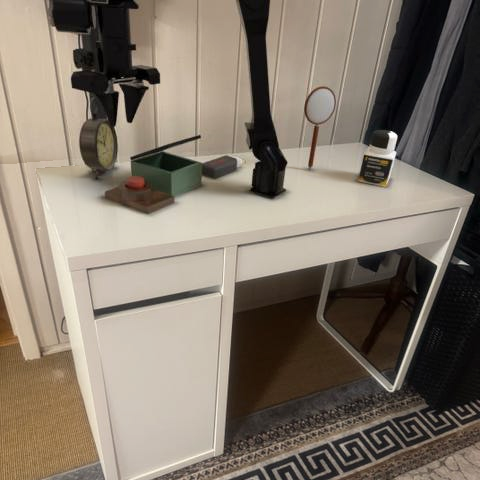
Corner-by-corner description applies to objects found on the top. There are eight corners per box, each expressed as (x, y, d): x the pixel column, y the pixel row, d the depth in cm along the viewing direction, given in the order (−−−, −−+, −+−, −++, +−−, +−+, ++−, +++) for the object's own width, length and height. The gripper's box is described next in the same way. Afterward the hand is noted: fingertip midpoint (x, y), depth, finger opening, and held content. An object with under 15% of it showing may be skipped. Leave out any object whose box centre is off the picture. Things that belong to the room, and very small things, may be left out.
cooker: (201, 185, 107) (202, 162, 104) (171, 198, 99) (171, 173, 96) (163, 173, 112) (162, 150, 109) (131, 184, 104) (130, 160, 101)
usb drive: (197, 173, 113) (197, 162, 112) (227, 163, 121) (227, 152, 120) (214, 179, 111) (214, 167, 109) (243, 168, 119) (244, 157, 118)
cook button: (148, 187, 95) (148, 179, 94) (136, 192, 93) (135, 183, 92) (135, 183, 97) (135, 174, 96) (122, 187, 94) (122, 179, 93)
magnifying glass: (321, 167, 124) (336, 85, 113) (325, 169, 123) (340, 87, 112) (293, 169, 121) (305, 85, 110) (296, 171, 120) (309, 87, 108)
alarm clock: (101, 182, 104) (93, 104, 94) (78, 178, 105) (68, 101, 95) (121, 167, 113) (115, 94, 103) (100, 164, 113) (92, 92, 104)
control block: (174, 203, 97) (174, 186, 95) (147, 214, 92) (146, 197, 90) (132, 188, 102) (131, 172, 100) (104, 198, 97) (102, 182, 94)
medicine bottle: (357, 181, 117) (368, 132, 110) (362, 173, 123) (373, 126, 116) (385, 187, 116) (399, 137, 109) (389, 179, 121) (402, 131, 114)
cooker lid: (201, 137, 101) (200, 134, 101) (169, 147, 93) (168, 143, 93) (163, 150, 108) (162, 147, 108) (130, 160, 101) (129, 157, 101)
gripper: (120, 30, 96) (125, 110, 105) (44, 32, 83) (57, 124, 92) (161, 37, 92) (162, 120, 101) (87, 40, 79) (97, 135, 88)
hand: (121, 124), depth 96 cm, fingers open, 4 cm apart
